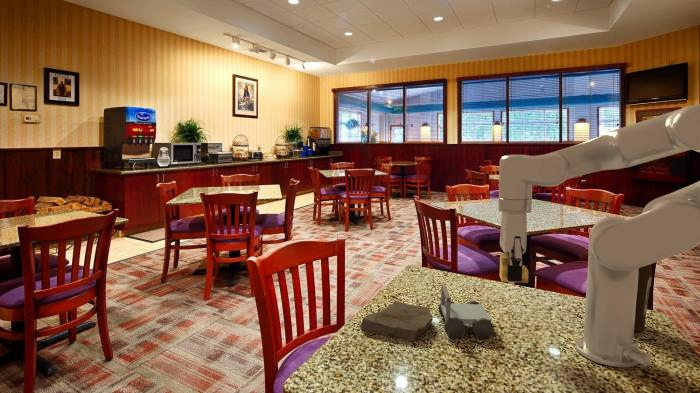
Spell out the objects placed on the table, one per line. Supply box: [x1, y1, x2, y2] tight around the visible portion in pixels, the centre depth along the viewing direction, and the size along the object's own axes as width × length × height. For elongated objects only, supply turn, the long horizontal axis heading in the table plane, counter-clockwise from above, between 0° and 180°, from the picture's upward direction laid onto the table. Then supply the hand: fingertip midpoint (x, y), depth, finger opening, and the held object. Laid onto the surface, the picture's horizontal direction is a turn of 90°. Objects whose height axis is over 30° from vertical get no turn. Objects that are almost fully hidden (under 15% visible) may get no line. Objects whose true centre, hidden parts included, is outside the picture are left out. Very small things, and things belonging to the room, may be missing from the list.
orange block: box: [499, 252, 529, 284], centre depth 100 cm, size 6×4×6 cm
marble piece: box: [360, 301, 434, 342], centre depth 108 cm, size 17×15×4 cm
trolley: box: [438, 283, 495, 340], centre depth 106 cm, size 12×13×10 cm
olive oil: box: [634, 264, 653, 334], centre depth 105 cm, size 11×11×25 cm
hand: (512, 276), depth 100 cm, fingers closed on orange block, 4 cm apart
